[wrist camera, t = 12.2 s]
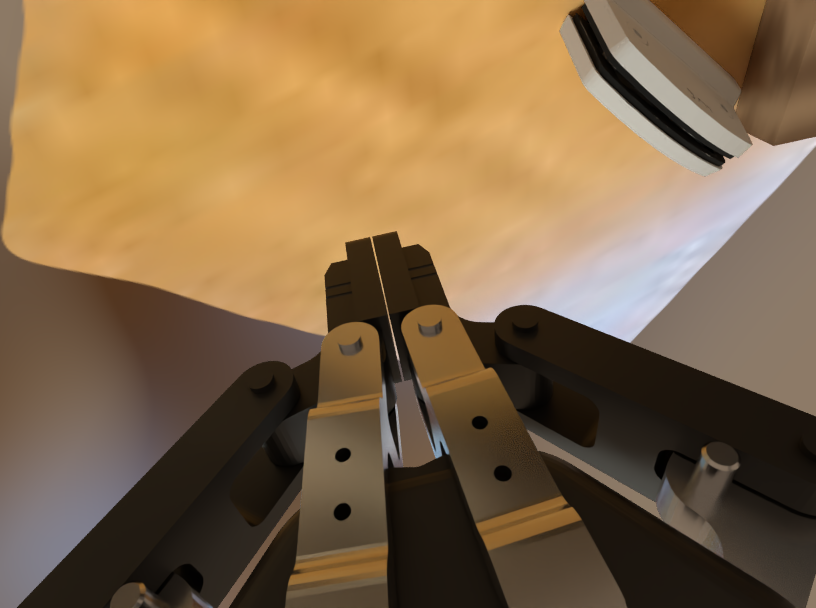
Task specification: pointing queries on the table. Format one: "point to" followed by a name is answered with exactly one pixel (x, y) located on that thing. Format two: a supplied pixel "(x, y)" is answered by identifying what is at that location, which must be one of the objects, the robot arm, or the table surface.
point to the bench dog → (782, 75)
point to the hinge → (657, 82)
